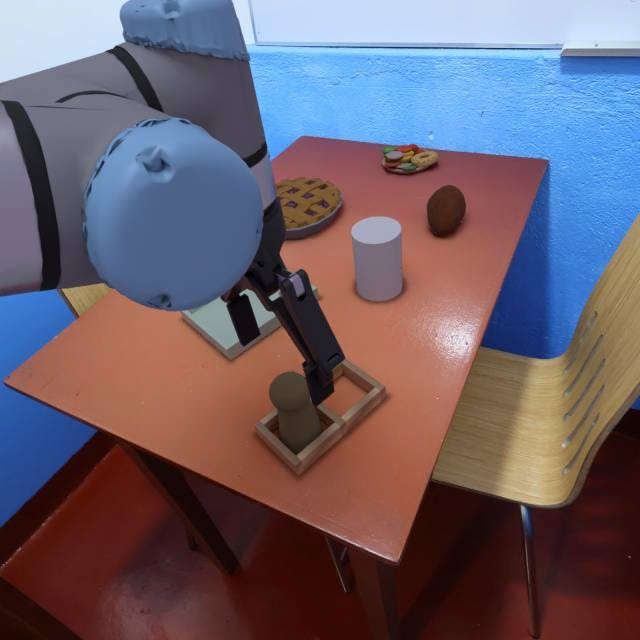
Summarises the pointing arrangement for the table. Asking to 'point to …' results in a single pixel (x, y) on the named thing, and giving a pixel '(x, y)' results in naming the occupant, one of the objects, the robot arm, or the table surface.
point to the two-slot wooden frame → (325, 420)
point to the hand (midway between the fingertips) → (284, 366)
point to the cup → (377, 258)
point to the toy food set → (407, 159)
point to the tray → (220, 328)
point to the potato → (445, 209)
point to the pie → (307, 205)
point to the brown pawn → (294, 411)
